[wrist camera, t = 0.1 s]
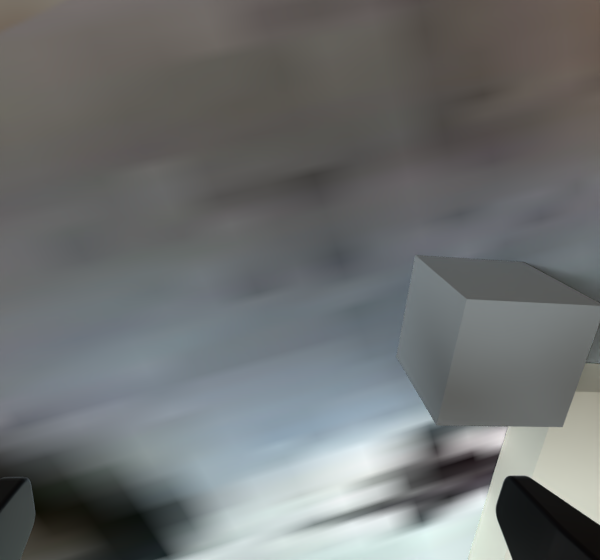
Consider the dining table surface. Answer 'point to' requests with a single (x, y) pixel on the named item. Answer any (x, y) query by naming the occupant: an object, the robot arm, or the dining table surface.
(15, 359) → the dining table surface
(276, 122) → the dining table surface
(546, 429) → the base block
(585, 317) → the grey cube
